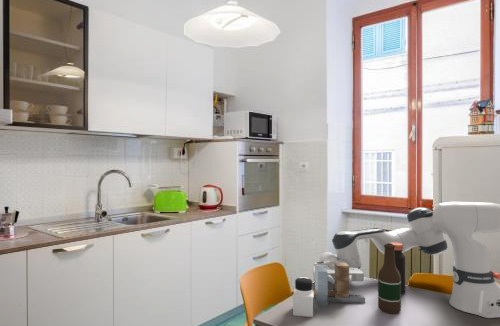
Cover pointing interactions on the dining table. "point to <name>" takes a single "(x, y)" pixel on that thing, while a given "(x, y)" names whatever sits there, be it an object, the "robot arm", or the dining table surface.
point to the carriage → (341, 281)
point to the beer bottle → (389, 283)
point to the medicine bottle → (303, 298)
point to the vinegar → (400, 264)
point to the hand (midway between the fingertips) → (341, 281)
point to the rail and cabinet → (321, 290)
